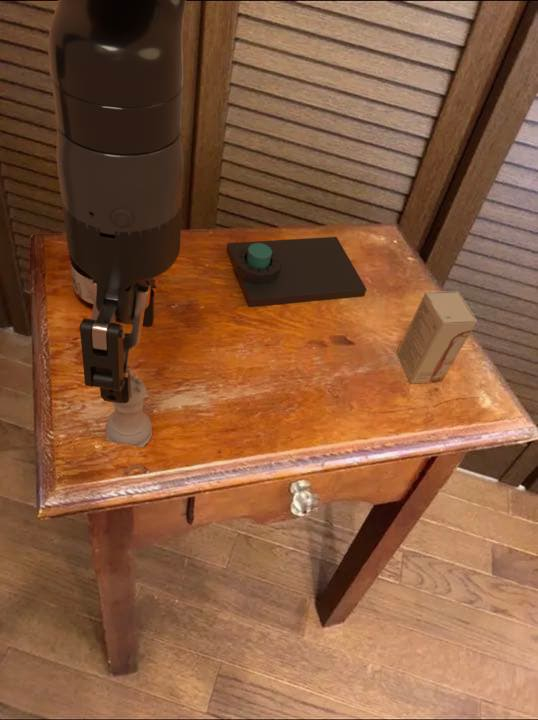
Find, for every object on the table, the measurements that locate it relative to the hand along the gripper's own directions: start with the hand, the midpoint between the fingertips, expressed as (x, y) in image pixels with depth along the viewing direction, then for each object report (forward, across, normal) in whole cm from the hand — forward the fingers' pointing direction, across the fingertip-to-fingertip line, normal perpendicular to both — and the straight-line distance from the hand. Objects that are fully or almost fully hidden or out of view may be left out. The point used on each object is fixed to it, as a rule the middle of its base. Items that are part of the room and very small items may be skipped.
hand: (129, 358), depth 49 cm
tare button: (+9, -27, +10) cm, 30 cm away
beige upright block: (+12, -16, +31) cm, 37 cm away
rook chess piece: (+12, 0, 0) cm, 12 cm away
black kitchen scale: (+12, -29, +15) cm, 35 cm away
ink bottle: (+12, -20, -7) cm, 24 cm away
